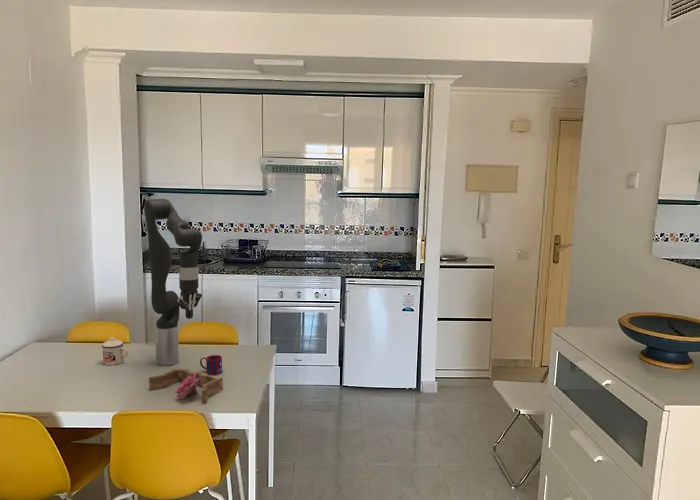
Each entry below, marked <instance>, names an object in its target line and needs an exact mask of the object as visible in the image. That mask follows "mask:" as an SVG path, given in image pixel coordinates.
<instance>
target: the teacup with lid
mask: <svg viewBox="0 0 700 500" xmlns="http://www.w3.org/2000/svg"><path fill="white" fill-rule="evenodd" d="M101 347H102V362H103V364H104V365H105V366H116V365H119V364H122V363H124V361H125V360H124V359H126V358H127V356H128V354H129V352H128V351H129V350H128V349H127V348H126V347H124V342H123V340H119V339H116V338H115V337H110V338H109V339H108V340H107V341H104V342H103V343H101ZM124 353H125V354H124Z"/></svg>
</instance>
